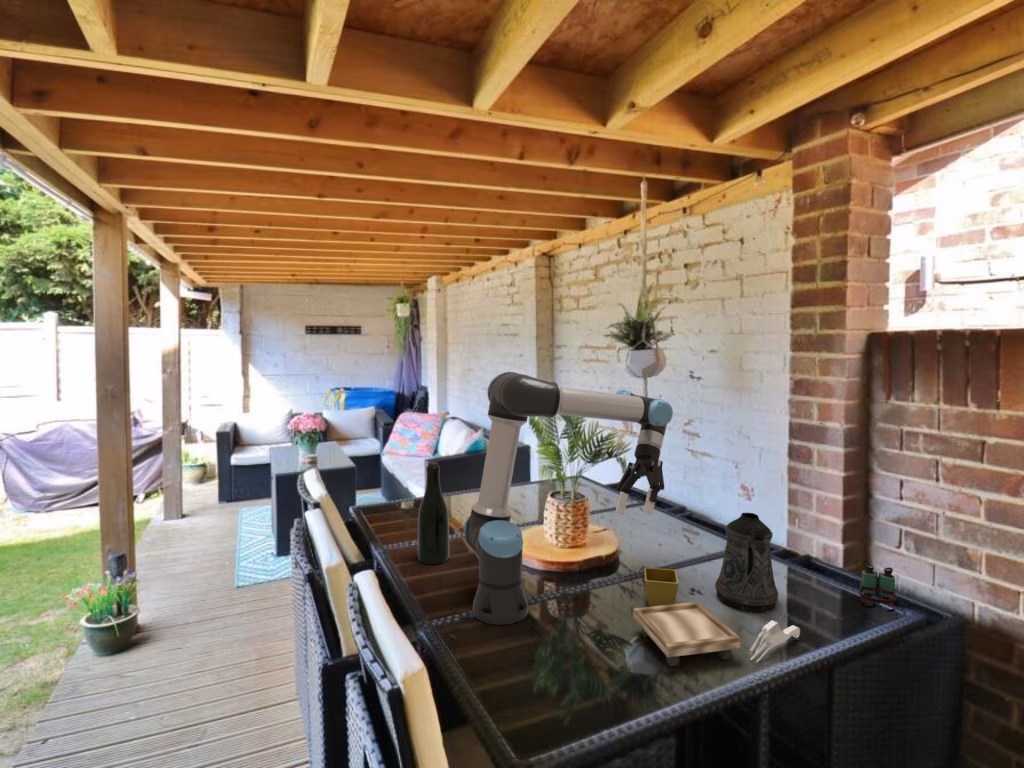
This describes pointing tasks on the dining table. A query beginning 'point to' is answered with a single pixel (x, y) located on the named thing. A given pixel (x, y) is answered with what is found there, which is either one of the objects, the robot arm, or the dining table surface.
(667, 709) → the dining table surface
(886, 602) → the binoculars
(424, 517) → the dark green wine bottle
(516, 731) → the dining table surface
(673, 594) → the flower pot
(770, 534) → the beer stein
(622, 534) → the dining table surface
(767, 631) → the llama figurine
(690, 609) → the plant caddy
